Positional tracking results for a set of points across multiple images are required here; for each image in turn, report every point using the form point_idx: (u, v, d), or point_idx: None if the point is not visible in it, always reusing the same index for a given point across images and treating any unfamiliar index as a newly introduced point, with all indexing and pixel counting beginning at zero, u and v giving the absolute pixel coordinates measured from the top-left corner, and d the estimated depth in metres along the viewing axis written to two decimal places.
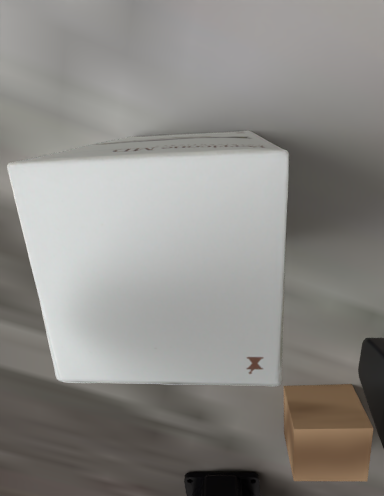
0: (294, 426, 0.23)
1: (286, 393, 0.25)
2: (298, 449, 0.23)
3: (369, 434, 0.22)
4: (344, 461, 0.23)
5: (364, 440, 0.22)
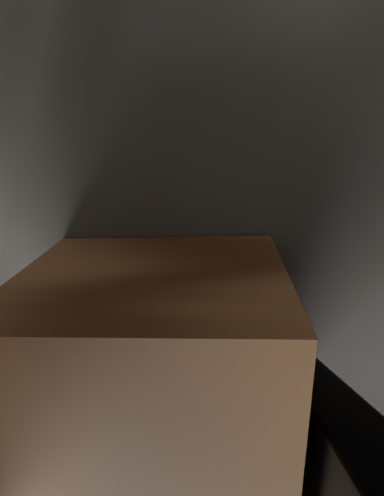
0: None
1: None
2: None
3: None
4: (166, 434, 0.05)
5: (22, 365, 0.05)
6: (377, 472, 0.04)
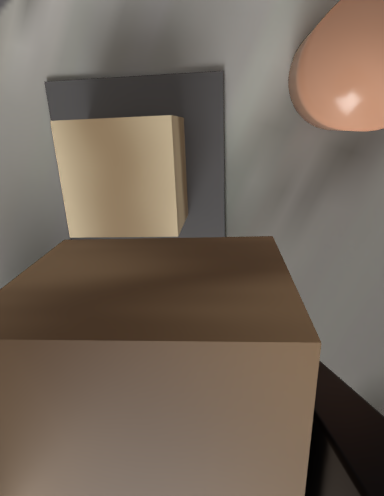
0: None
1: None
2: None
3: None
4: (168, 437, 0.05)
5: (23, 368, 0.05)
6: (377, 472, 0.04)
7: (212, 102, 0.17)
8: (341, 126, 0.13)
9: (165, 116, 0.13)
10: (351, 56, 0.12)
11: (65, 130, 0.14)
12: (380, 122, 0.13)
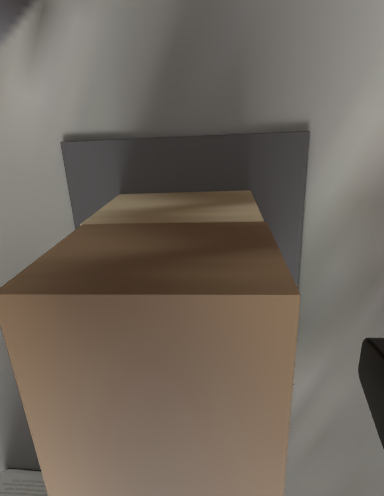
0: None
1: None
2: (131, 492, 0.07)
3: (26, 304, 0.06)
4: (178, 377, 0.06)
5: (62, 318, 0.06)
6: None
7: (291, 171, 0.12)
8: None
9: (254, 221, 0.09)
10: None
11: None
12: None
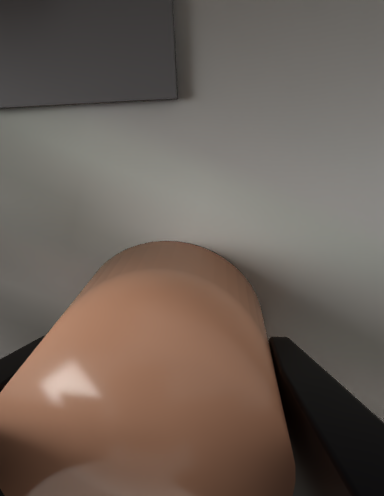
0: None
1: None
2: None
3: None
4: None
5: None
6: (368, 472, 0.04)
7: (106, 71, 0.07)
8: None
9: None
10: (144, 434, 0.05)
11: None
12: (15, 487, 0.06)
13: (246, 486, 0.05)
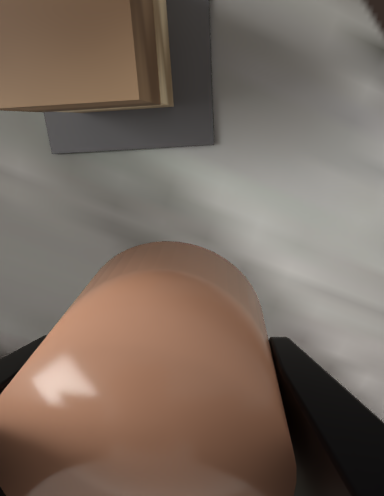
0: None
1: None
2: None
3: None
4: (74, 26, 0.10)
5: None
6: (368, 472, 0.04)
7: (187, 135, 0.18)
8: None
9: (160, 96, 0.14)
10: (145, 434, 0.05)
11: None
12: (16, 488, 0.06)
13: (247, 486, 0.05)
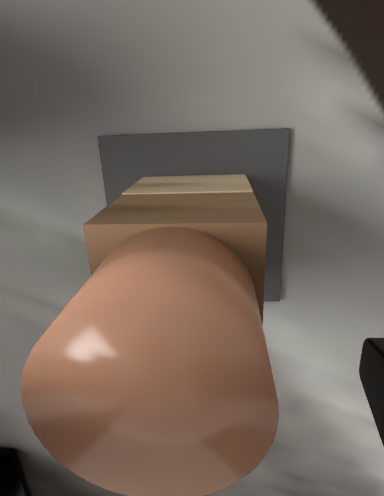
0: (88, 222, 0.10)
1: (117, 200, 0.12)
2: None
3: (259, 242, 0.09)
4: None
5: (248, 261, 0.09)
6: None
7: None
8: (25, 369, 0.06)
9: None
10: (154, 378, 0.06)
11: None
12: (44, 428, 0.07)
13: (238, 423, 0.06)
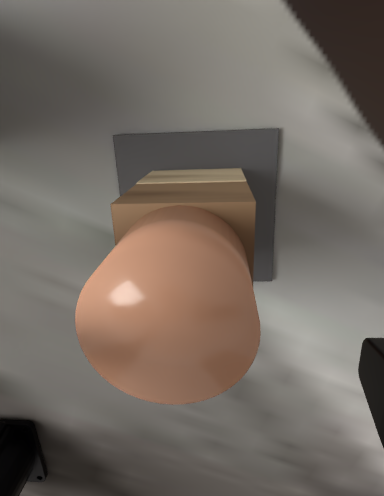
0: (114, 202, 0.12)
1: (133, 187, 0.15)
2: None
3: (249, 217, 0.12)
4: None
5: (241, 233, 0.12)
6: None
7: None
8: (79, 300, 0.09)
9: None
10: (171, 304, 0.08)
11: None
12: (90, 346, 0.09)
13: (231, 338, 0.09)
